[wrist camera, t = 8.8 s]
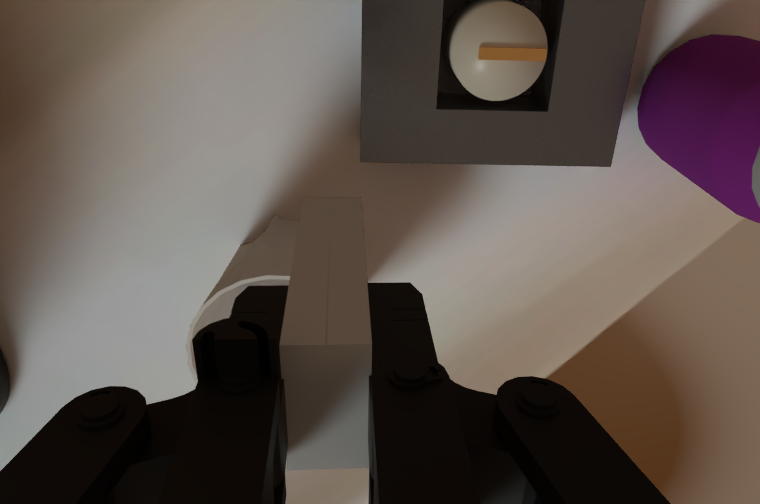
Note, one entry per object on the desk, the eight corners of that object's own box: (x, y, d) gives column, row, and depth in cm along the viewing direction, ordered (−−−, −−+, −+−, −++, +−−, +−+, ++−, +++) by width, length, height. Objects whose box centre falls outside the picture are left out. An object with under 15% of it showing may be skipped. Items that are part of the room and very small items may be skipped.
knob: (440, 84, 35) (449, 100, 31) (447, -6, 33) (457, 1, 29) (522, 86, 35) (541, 102, 32) (534, -3, 33) (555, 3, 29)
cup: (301, 354, 44) (285, 456, 35) (194, 265, 41) (147, 354, 32) (404, 272, 41) (414, 361, 33) (299, 169, 38) (278, 238, 29)
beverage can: (769, 131, 37) (930, 206, 27) (645, 178, 39) (752, 268, 28) (752, 8, 34) (927, 37, 23) (617, 64, 35) (726, 116, 25)
